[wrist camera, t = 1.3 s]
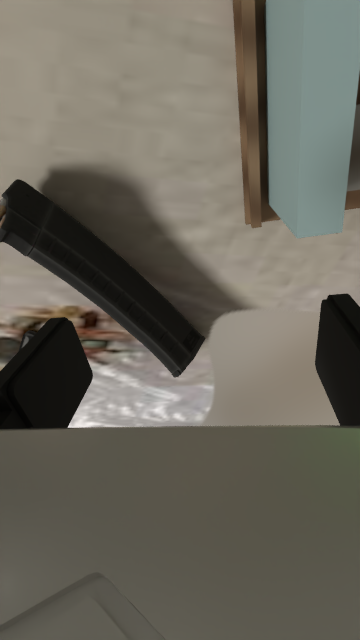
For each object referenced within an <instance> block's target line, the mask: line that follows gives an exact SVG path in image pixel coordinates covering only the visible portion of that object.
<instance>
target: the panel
mask: <svg viewBox="0 0 360 640" xmlns="http://www.w3.org/2000/svg"><path fill="white" fill-rule="evenodd" d="M264 24H265V78H266V133H267V187H268V204H269V205H270V206H271V208H272V209H273V210H274V211H275V212H276V214H277V215H278V216H279V217H280V218H281V220H282V221H283V222H284V223H285V224H286V226H287V227H288V228H289V229H290V230H291V232H292V233H293V234H294V235H295V237H296V238H303V237H310V236H318V235H325V234H333V233H340V232H342V228H343V219H344V210H345V201H346V191H347V182H348V173H349V164H350V155H351V145H352V136H353V127H354V118H355V109H356V99H357V90H358V81H359V72H360V0H266V2H265V5H264Z"/></svg>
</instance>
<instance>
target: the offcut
mask: <svg viewBox="0 0 360 640" xmlns="http://www.w3.org/2000/svg"><path fill="white" fill-rule="evenodd" d="M353 190H360V104H359V105H356V109H355V118H354V127H353V136H352V145H351V155H350V164H349V173H348V182H347V191H353ZM347 191H346V192H347Z"/></svg>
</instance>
